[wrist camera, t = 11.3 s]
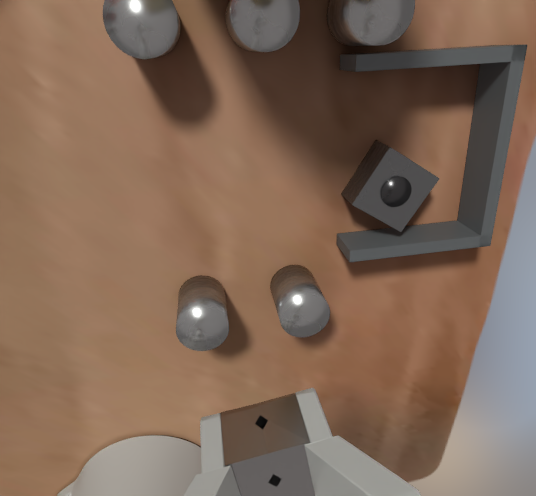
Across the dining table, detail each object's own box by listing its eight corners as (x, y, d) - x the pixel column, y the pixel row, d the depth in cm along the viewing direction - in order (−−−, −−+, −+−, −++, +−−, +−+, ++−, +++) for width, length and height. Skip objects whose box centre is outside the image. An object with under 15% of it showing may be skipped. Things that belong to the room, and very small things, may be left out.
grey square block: (386, 218, 37) (401, 232, 34) (340, 193, 36) (352, 205, 33) (421, 168, 36) (440, 179, 33) (374, 139, 34) (390, 147, 31)
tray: (466, 229, 39) (490, 245, 35) (336, 244, 37) (349, 262, 34) (495, 45, 32) (527, 44, 29) (340, 54, 31) (356, 55, 28)
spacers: (367, 294, 40) (388, 325, 35) (170, 319, 38) (166, 355, 33) (383, -21, 29) (418, -34, 25) (112, -10, 27) (95, -22, 23)
